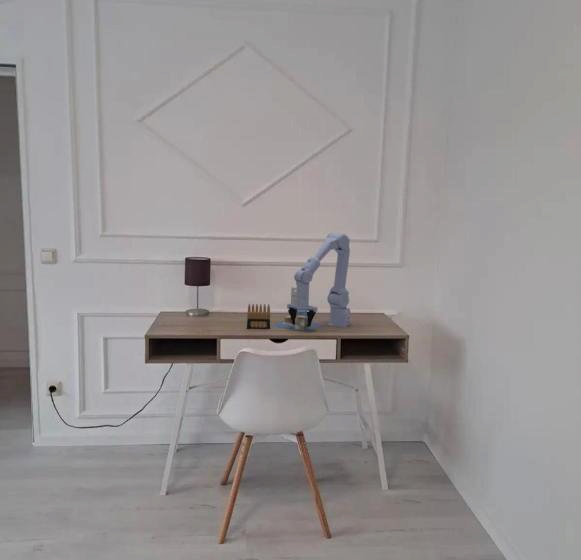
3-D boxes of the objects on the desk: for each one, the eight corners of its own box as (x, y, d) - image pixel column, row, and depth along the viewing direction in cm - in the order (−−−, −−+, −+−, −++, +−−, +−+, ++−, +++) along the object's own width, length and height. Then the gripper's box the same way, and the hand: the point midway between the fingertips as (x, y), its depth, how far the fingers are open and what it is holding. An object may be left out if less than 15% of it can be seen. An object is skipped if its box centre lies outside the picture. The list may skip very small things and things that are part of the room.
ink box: (307, 316, 268) (308, 288, 266) (300, 317, 265) (301, 289, 263) (297, 313, 275) (298, 286, 273) (290, 314, 272) (290, 286, 270)
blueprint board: (324, 325, 250) (324, 323, 250) (308, 332, 234) (308, 331, 234) (287, 320, 259) (287, 318, 258) (269, 327, 243) (269, 325, 243)
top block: (308, 328, 240) (308, 317, 239) (303, 330, 236) (304, 319, 235) (299, 327, 242) (299, 316, 241) (294, 329, 238) (295, 318, 237)
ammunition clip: (246, 329, 236) (247, 303, 235) (246, 328, 238) (247, 303, 236) (270, 330, 237) (270, 304, 235) (270, 329, 238) (270, 303, 237)
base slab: (306, 322, 253) (306, 316, 252) (299, 325, 246) (299, 319, 245) (291, 320, 256) (292, 314, 256) (284, 323, 249) (284, 317, 249)
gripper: (284, 295, 236) (283, 325, 238) (313, 299, 230) (312, 329, 231) (291, 293, 242) (290, 322, 244) (319, 297, 236) (318, 326, 238)
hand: (301, 325), depth 238 cm, fingers open, 7 cm apart
